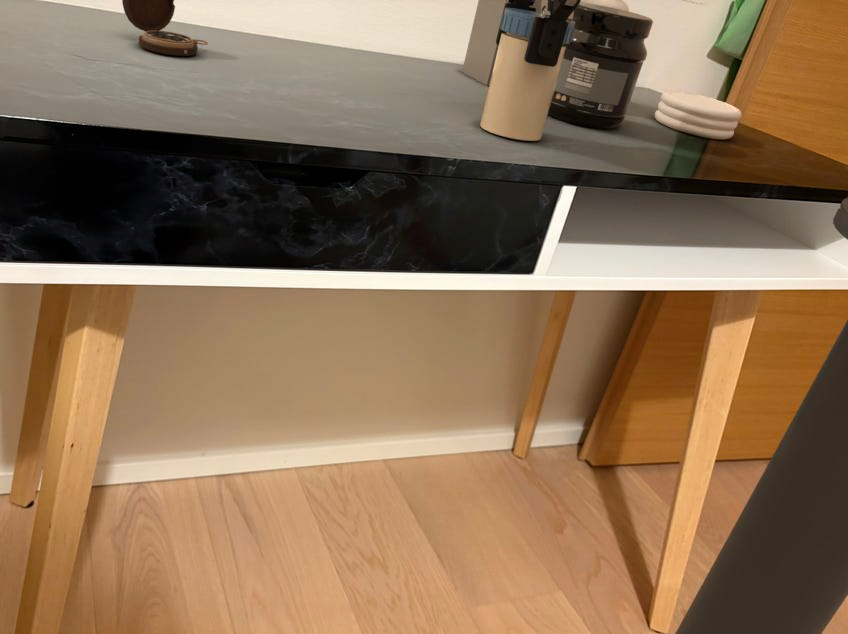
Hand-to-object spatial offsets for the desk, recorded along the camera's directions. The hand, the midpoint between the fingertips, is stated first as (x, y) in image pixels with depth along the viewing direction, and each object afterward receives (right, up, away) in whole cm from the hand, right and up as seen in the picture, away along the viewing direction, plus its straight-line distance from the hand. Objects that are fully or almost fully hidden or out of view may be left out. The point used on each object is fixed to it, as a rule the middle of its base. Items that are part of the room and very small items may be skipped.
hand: (524, 54), depth 79 cm
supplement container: (+10, -1, +17) cm, 20 cm away
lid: (+1, +3, -2) cm, 3 cm away
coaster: (+26, 0, +24) cm, 36 cm away
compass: (-37, +4, +9) cm, 38 cm away
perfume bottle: (+2, +7, +28) cm, 29 cm away
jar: (-1, -7, +4) cm, 8 cm away
